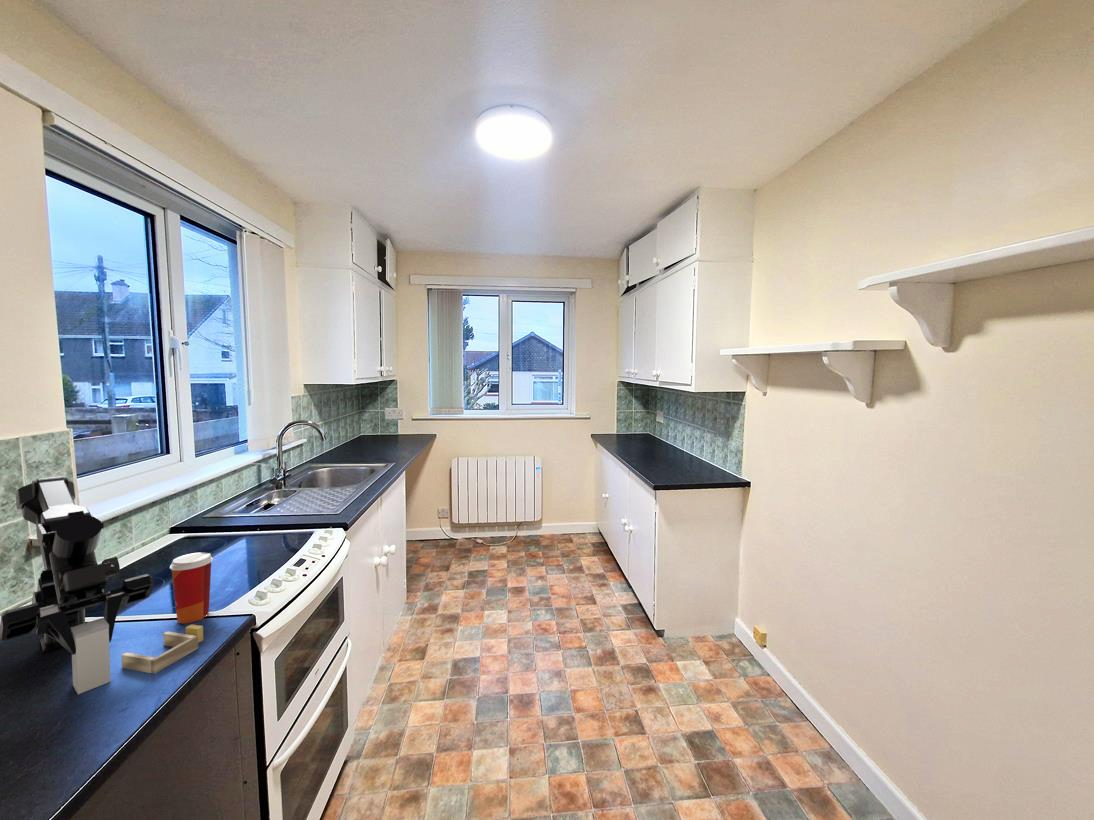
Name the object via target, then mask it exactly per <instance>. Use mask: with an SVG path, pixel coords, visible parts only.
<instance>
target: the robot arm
mask: <svg viewBox="0 0 1094 820" xmlns="http://www.w3.org/2000/svg"><path fill="white" fill-rule="evenodd" d="M75 491H76V490H75V485H74V482H73V481H71V480H69V479H68V477H67V476H63V475H61V476H59V475H58V476H50V477H41V478H37V479H33V480H31V483H29V484H26V485H24V486H22V487H19V488H17V491H16V493H15V494H16V495H15V504H16V506H15V507H16V509H17V510H21V514H22V518H23V519H24V520H26V521H27V522H30V523H31V524H33V525H35V527H36V529H35V530H36V539H37V543H38V544H39V547H40V552H41V553H40V554H41V557H42V564H43V567H44V568H43V569H44V570H42V571H41V573H40V575H39V578H38V581H37V588H36V589H37V590H36V591H33V592H32V593H33V594H32V597H31V598H32V600H31V603H30V604H27V605H23V606H19V607H15V608H11V609H7V610H5V611H4V613H3V614H1V616H0V640H1V641H10V640H13V639H17V638H20V637H22V636H25V635H29V634H31V633H32V632H33V631H34V630H35V629H36V632H35V634H36V635H37V636H40V635H44V637H42V638H41V639H40V644H41V649H42V653H44V652H45V653H46V652H49V651H52V650H55V649H59V648H62V647H63V648H64V649H65V650H66V651H67V652H68V653H69V654H70V655H71V656H72V655H74V654H76V648H75V642H74V639H73V637H72V634H71V631H70V628H71V627H74V626H77V625H81V624H84V623H86V609H88V608H92V607H95V606H98V605H102V604H104V605H105V606H104V607H105V608H104V610H103V613H102V614H103V618H104V619H105V621H106V622H107V623H108V624H109V643H111V641H112V638H113V633H114V630H115V629H114V628H115V626H116V624H115V623H116V619H117V616H118V612H120V611H123V610H124V609H126V607H127V605H130V604H134V603H136V602H140V601H144V600H147V599H148V598H149V597H150V596H151V594H152V591H153V588H154V586H155V581H154V578H153V576H151V575H150V574H149V573H146V574H142V575H137V576H134V577H129V578H127V579H123V581H122V584H121V585H122V586H121V587H117V588H115V589H111V590H108V591H104V589H107V586H108V583H107V581H108V578H109V577H112V576H116V575H118V574H120V573H121V567H120V562H119V559H118V556H113V557H109V558H104V560H102V561H101V563H98V562H97V558H96V549H97V547H98V546H99V545H98V544H99V541H100V536H101V533H102V529H104V528H105V527H104V526H105V525H104V522H103V521H101V520H100V519H99V518H97V517H96V515H95V514H91V512H90V510H89V509H88V508H87V507H86V506H82V505H76V503H75V501H74V500H75V498H76V492H75Z"/></svg>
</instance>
